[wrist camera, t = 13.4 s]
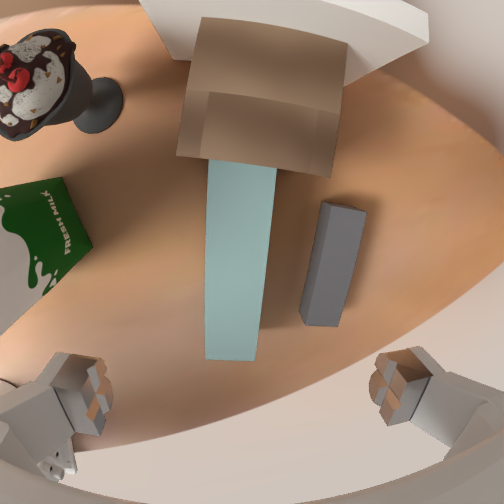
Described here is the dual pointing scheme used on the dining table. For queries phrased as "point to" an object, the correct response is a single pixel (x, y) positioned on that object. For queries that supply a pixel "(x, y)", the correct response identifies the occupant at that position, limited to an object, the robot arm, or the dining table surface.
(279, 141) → the block
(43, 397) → the robot arm
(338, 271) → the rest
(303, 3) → the wall
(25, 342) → the dining table surface
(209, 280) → the peg
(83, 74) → the sundae
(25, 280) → the milk carton
